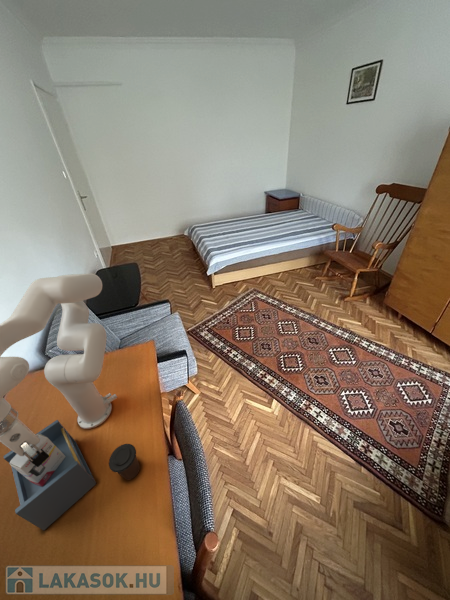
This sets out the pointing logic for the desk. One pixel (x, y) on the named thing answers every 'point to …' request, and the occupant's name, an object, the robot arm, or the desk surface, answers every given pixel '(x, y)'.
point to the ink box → (46, 468)
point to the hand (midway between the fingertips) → (34, 452)
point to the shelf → (54, 481)
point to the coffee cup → (124, 461)
